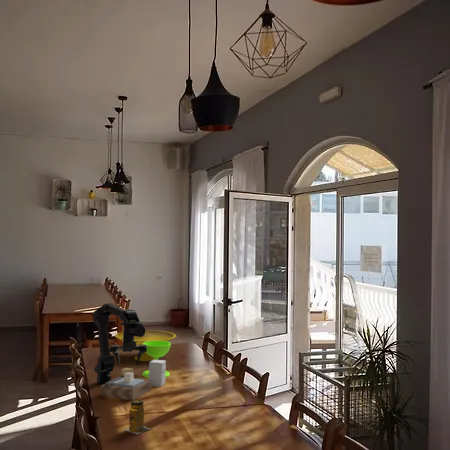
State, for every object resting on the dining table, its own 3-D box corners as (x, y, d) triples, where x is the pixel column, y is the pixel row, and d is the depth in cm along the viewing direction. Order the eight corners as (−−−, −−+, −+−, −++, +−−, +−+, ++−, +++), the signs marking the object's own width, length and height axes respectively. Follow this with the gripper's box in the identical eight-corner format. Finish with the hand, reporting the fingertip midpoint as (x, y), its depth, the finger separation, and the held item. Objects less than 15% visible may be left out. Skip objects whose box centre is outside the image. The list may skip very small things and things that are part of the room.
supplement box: (161, 387, 295) (162, 363, 295) (148, 385, 297) (148, 362, 297) (165, 383, 302) (166, 360, 303) (152, 382, 304) (153, 359, 304)
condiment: (124, 430, 229) (125, 401, 230) (140, 425, 236) (140, 396, 236) (136, 434, 225) (137, 405, 225) (151, 429, 231) (152, 400, 231)
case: (100, 395, 277) (101, 383, 277) (119, 386, 294) (119, 374, 294) (132, 400, 271) (133, 387, 271) (149, 390, 288) (150, 378, 288)
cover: (112, 385, 278) (112, 374, 278) (124, 379, 289) (124, 369, 289) (133, 387, 274) (133, 377, 274) (144, 382, 285) (145, 371, 285)
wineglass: (136, 376, 316) (137, 344, 317) (150, 370, 331) (151, 339, 332) (161, 379, 310) (162, 347, 311) (174, 373, 325) (175, 342, 325)
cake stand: (172, 366, 341) (173, 342, 341) (107, 364, 341) (108, 340, 342) (179, 352, 381) (179, 330, 381) (120, 351, 382) (121, 329, 382)
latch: (121, 374, 293) (121, 369, 293) (125, 373, 296) (125, 367, 296) (129, 375, 291) (129, 370, 291) (132, 374, 295) (133, 368, 295)
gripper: (108, 337, 276) (108, 369, 276) (146, 337, 278) (145, 368, 278) (110, 333, 288) (110, 364, 287) (147, 333, 289) (146, 363, 289)
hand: (128, 365), depth 285 cm, fingers open, 9 cm apart
